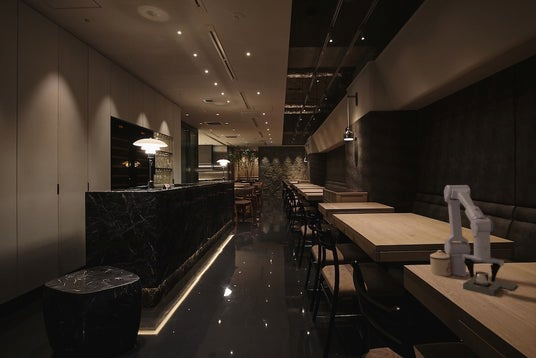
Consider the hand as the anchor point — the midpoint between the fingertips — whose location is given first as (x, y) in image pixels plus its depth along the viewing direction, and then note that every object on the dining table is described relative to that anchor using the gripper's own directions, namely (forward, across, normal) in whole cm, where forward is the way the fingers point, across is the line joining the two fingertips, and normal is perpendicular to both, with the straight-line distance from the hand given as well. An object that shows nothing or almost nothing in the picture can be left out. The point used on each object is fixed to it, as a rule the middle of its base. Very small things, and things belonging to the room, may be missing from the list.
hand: (482, 279), depth 128 cm
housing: (+4, 0, 0) cm, 4 cm away
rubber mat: (+4, +4, +12) cm, 13 cm away
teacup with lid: (+4, -21, +11) cm, 24 cm away
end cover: (+4, 0, 0) cm, 4 cm away
